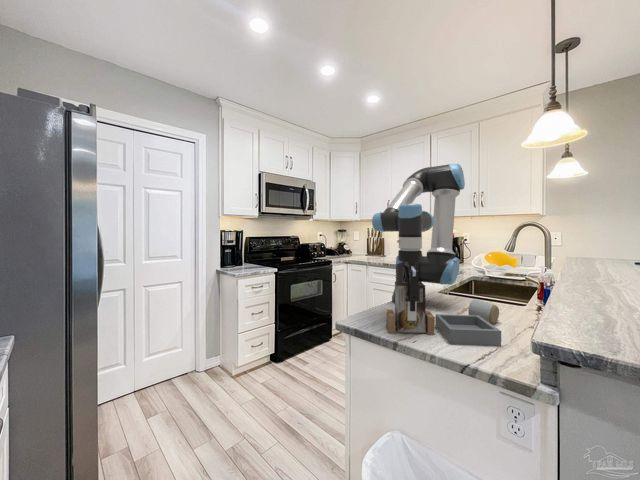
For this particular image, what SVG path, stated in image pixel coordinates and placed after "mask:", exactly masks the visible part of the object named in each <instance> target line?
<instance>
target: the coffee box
mask: <svg viewBox="0 0 640 480" xmlns="http://www.w3.org/2000/svg"><path fill="white" fill-rule="evenodd" d="M394 289H395V303H394V314H395V330H396V331H397V332H398V333H413V334H414V333H415V334H416V333H418V334H419V333H420V334H421V333H424V334H425V333H426V324H425V322H426V321H425V310H426V304H425V298H426V285H425V284H424V282H418V299H419V300H418V301H417V304H416V321H410V320H407V310H408V301H406V299H408V283H407V282H396V281H394Z"/></svg>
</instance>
